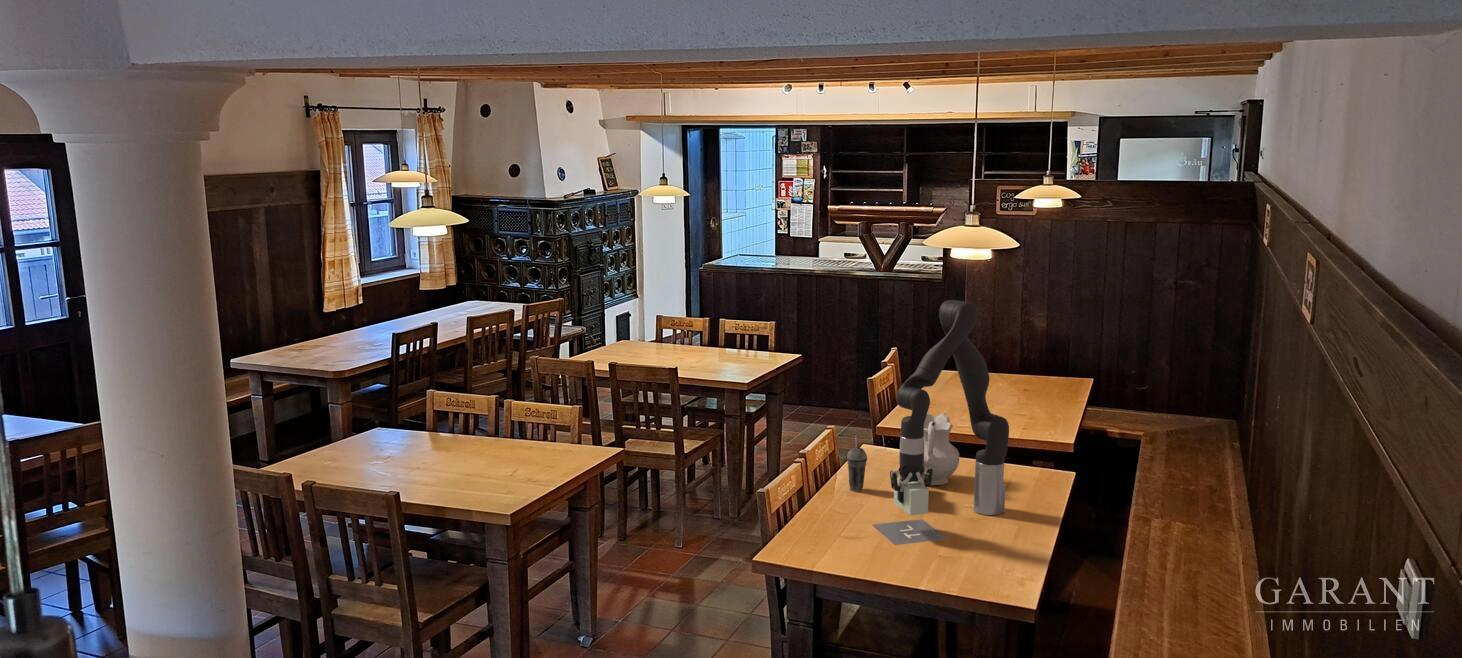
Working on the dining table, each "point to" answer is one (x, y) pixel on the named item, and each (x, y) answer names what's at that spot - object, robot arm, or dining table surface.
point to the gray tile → (909, 532)
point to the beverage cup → (856, 467)
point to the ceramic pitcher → (939, 449)
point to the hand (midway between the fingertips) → (910, 501)
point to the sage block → (913, 498)
